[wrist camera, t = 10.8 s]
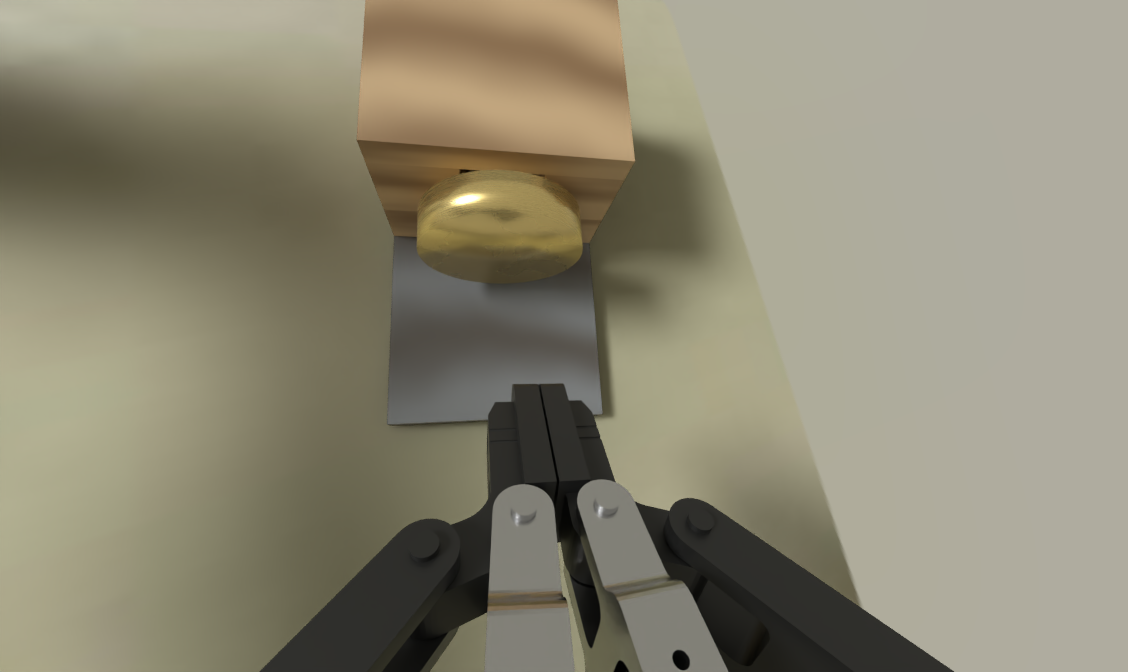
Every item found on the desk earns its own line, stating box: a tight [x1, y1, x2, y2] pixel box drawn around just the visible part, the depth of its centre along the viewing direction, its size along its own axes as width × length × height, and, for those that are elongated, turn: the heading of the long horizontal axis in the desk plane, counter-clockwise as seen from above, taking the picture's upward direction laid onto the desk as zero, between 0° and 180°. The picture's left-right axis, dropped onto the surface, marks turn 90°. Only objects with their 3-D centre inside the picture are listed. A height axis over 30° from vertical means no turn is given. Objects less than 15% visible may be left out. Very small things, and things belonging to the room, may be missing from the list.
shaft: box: [417, 170, 583, 284], centre depth 23 cm, size 16×8×8 cm, turn 3°
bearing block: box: [357, 0, 635, 425], centre depth 23 cm, size 21×12×10 cm, turn 3°
